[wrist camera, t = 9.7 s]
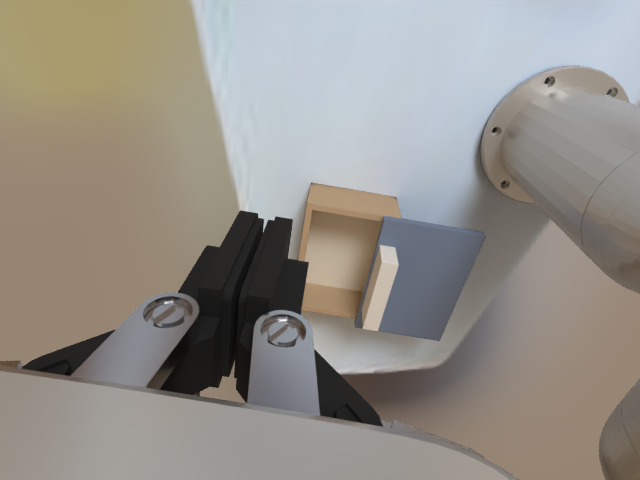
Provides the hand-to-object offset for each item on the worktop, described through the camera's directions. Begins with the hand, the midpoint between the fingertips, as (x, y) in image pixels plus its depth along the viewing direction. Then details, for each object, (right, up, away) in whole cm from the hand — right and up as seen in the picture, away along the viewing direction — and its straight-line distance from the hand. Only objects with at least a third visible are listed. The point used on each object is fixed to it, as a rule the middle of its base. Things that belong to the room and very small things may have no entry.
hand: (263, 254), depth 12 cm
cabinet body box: (+4, 0, +31) cm, 31 cm away
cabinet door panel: (+11, -4, +27) cm, 29 cm away
